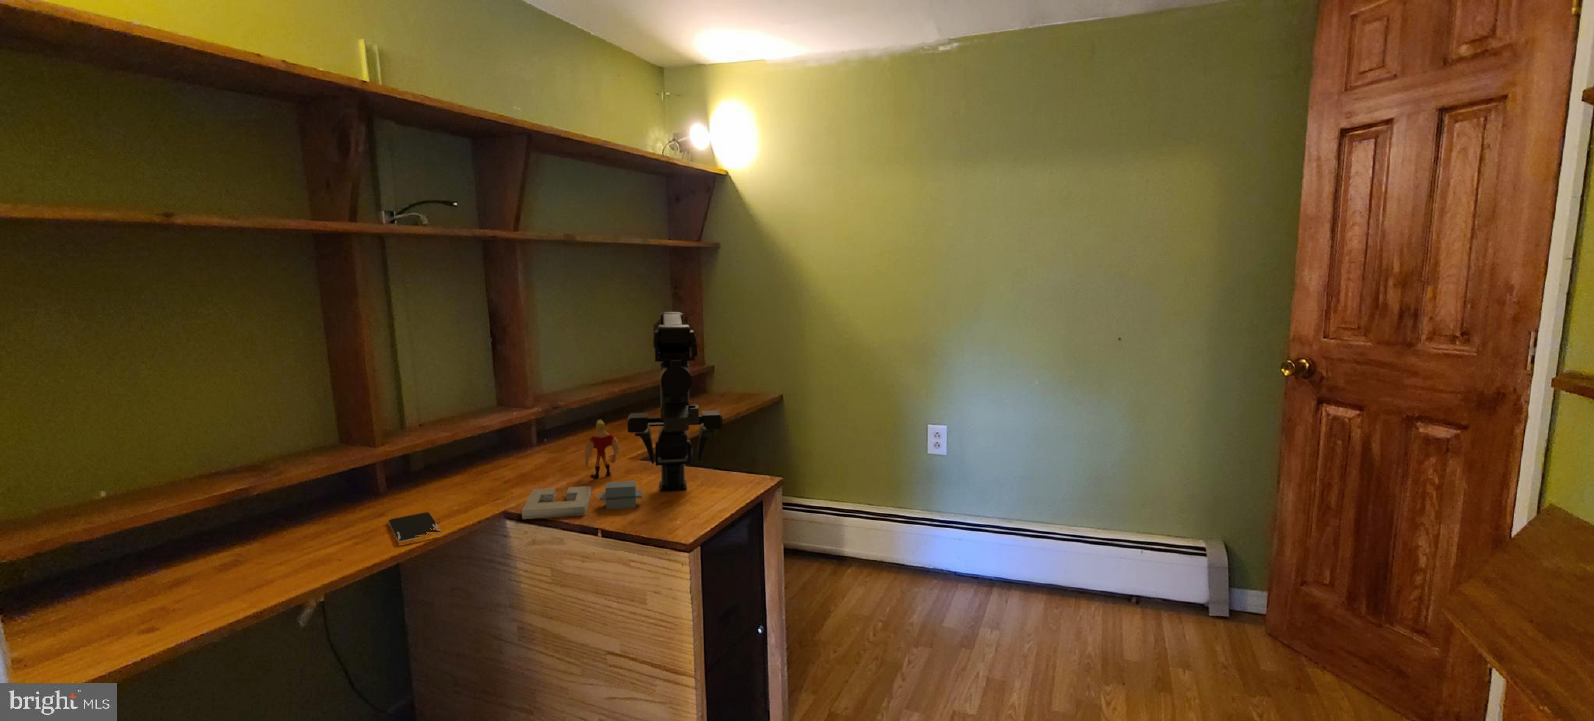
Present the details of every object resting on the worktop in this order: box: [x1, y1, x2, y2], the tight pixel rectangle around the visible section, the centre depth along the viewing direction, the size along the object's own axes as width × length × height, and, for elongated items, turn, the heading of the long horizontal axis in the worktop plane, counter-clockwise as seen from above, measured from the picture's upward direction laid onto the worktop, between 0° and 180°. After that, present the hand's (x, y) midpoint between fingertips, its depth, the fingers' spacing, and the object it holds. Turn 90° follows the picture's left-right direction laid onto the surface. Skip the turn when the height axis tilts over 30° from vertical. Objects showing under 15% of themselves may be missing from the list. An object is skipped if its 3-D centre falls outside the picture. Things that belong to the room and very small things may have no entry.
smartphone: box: [388, 512, 442, 542], centre depth 138 cm, size 8×1×15 cm
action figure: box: [583, 419, 620, 479], centre depth 174 cm, size 10×4×15 cm, turn 129°
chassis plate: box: [521, 485, 592, 520], centre depth 153 cm, size 14×13×2 cm
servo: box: [599, 480, 643, 510], centre depth 155 cm, size 8×9×5 cm
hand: (676, 462), depth 137 cm, fingers open, 9 cm apart
